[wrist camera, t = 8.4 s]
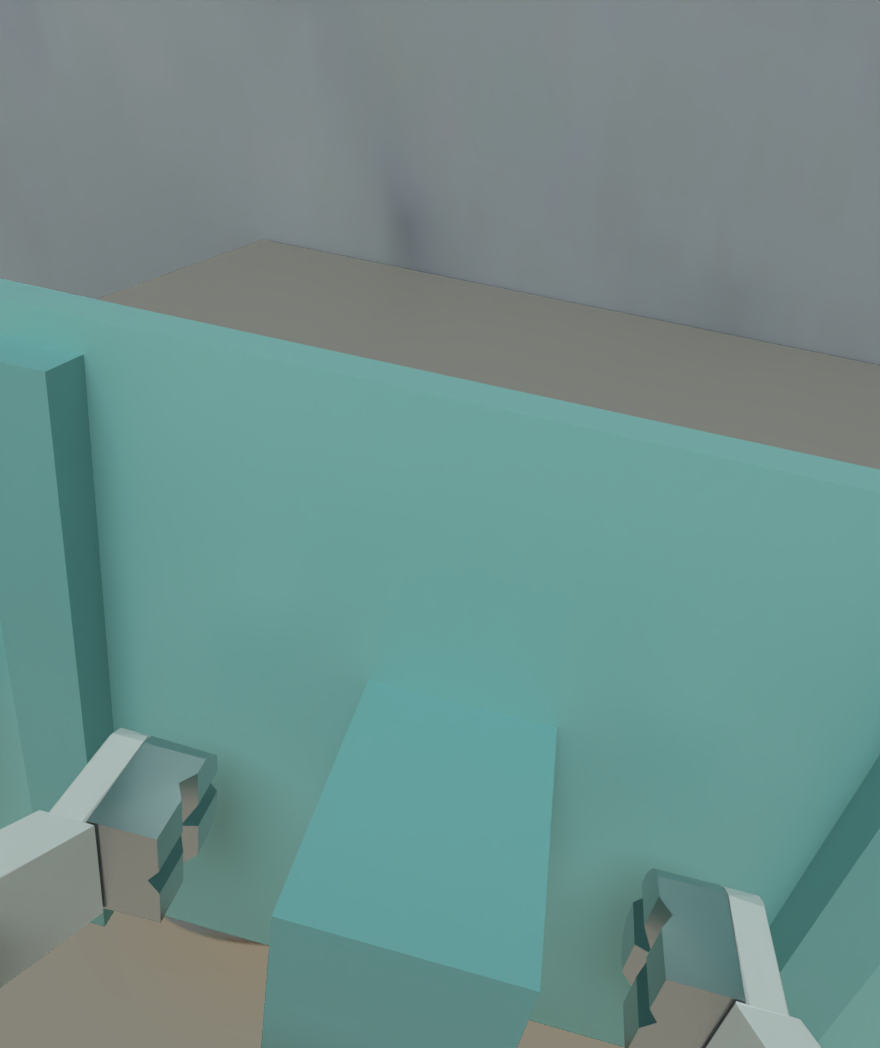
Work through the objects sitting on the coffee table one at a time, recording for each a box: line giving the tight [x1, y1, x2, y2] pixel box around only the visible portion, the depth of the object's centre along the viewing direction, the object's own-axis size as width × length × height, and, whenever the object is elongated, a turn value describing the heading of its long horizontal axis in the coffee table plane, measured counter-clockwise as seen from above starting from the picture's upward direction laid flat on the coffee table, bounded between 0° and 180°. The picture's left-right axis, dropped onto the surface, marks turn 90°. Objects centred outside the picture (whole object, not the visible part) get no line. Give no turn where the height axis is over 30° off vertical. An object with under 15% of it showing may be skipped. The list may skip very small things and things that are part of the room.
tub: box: [97, 240, 880, 470], centre depth 16 cm, size 18×12×7 cm, turn 81°
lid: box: [0, 279, 880, 1048], centre depth 11 cm, size 23×13×5 cm, turn 81°
